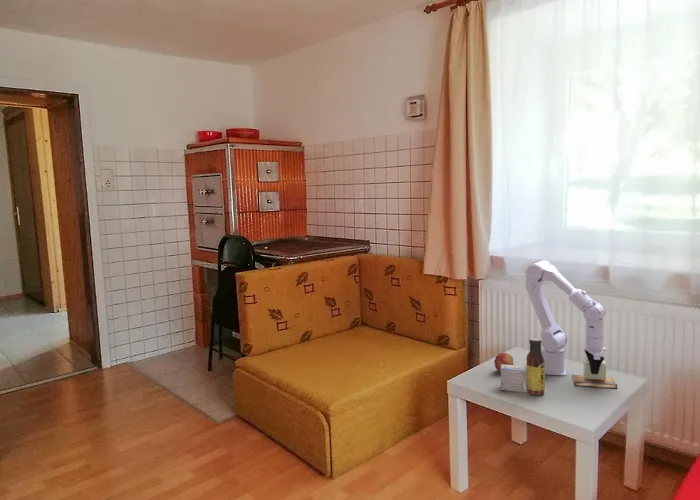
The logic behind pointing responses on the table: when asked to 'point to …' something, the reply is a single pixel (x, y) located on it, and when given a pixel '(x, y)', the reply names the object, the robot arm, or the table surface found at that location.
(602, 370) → the carton
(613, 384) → the brown book
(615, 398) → the table surface
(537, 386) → the sauce bottle
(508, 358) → the fruit
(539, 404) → the table surface
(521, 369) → the medicine box
